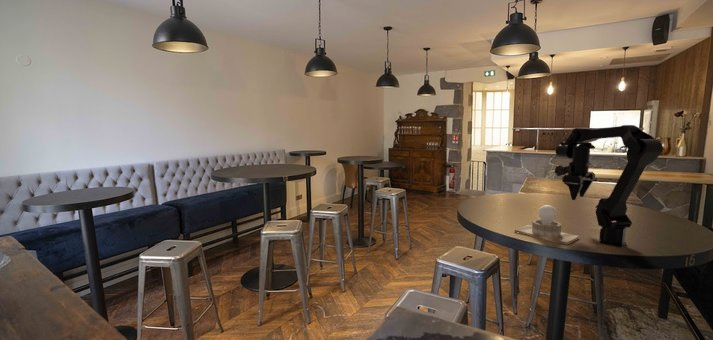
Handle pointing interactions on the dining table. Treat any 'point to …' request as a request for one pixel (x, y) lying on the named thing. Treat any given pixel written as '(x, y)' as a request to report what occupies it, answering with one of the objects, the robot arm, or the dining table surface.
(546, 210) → the lightbulb
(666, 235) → the dining table surface
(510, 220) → the dining table surface
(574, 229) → the dining table surface
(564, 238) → the lamp base
